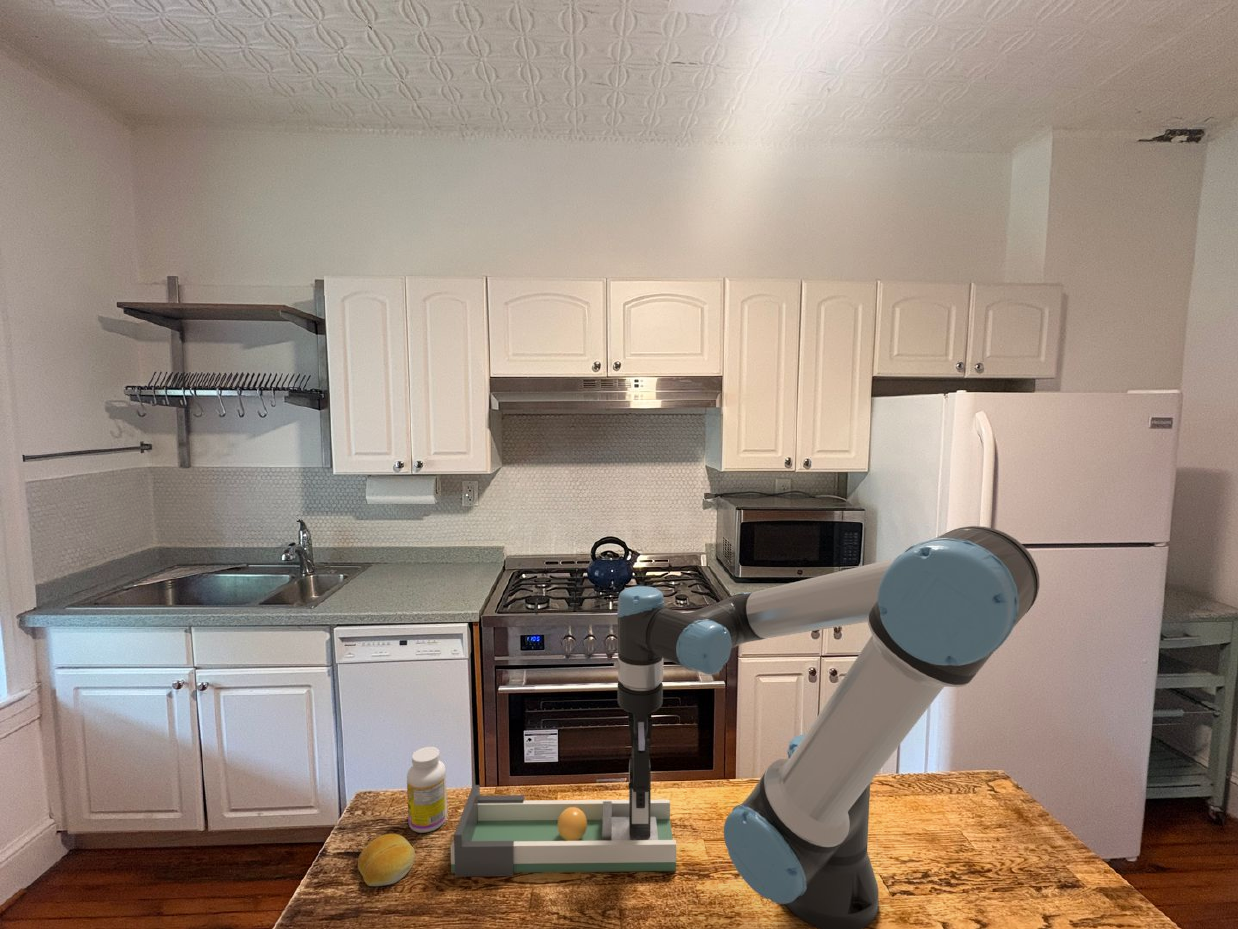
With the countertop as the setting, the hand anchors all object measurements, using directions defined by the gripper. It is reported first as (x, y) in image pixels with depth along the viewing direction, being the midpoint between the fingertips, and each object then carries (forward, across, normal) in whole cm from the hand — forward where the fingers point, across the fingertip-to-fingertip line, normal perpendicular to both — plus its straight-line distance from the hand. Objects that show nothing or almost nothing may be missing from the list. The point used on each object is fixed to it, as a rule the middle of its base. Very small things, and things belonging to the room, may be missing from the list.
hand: (639, 815), depth 98 cm
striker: (+4, 0, -2) cm, 4 cm away
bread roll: (+6, +4, -41) cm, 42 cm away
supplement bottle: (+6, -6, -38) cm, 39 cm away
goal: (+6, 0, -24) cm, 25 cm away
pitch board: (+6, 0, -12) cm, 14 cm away
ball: (+2, 0, -11) cm, 12 cm away
